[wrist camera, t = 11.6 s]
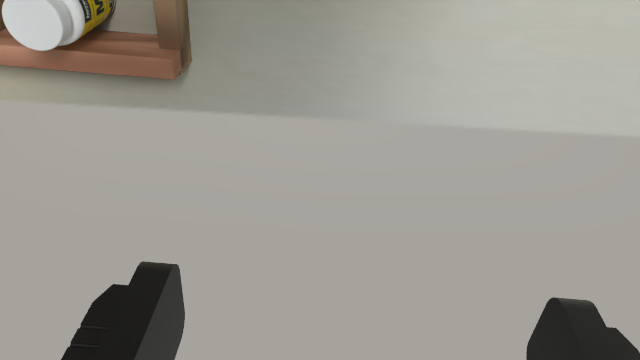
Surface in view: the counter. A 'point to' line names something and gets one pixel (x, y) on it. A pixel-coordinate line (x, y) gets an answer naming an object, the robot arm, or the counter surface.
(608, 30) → the counter surface
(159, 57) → the guide channel
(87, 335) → the robot arm
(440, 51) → the counter surface
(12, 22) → the supplement bottle
